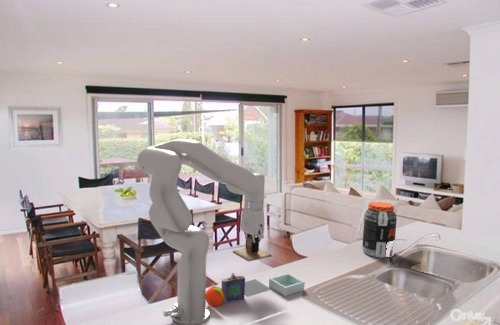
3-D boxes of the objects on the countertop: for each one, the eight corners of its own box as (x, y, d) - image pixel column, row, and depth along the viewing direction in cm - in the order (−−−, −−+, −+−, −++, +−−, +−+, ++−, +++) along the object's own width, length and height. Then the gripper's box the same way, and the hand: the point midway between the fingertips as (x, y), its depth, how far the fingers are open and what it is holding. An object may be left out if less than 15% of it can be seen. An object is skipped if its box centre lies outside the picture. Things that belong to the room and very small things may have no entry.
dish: (284, 298, 144) (285, 288, 144) (268, 287, 152) (269, 278, 152) (304, 291, 150) (304, 282, 149) (287, 282, 158) (288, 273, 158)
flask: (222, 305, 137) (223, 277, 136) (219, 301, 140) (220, 273, 139) (245, 300, 141) (246, 273, 140) (242, 297, 144) (243, 270, 143)
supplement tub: (390, 261, 185) (394, 209, 182) (358, 254, 193) (361, 205, 190) (396, 251, 198) (400, 203, 195) (366, 245, 206) (369, 199, 203)
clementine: (230, 306, 137) (230, 287, 136) (216, 313, 132) (217, 294, 131) (214, 298, 142) (215, 280, 141) (201, 305, 137) (201, 287, 136)
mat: (247, 298, 143) (247, 296, 143) (232, 287, 152) (232, 285, 152) (271, 290, 150) (271, 289, 150) (255, 280, 159) (255, 279, 159)
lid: (248, 261, 141) (249, 244, 141) (232, 252, 150) (233, 236, 150) (271, 256, 148) (272, 239, 147) (255, 248, 157) (255, 232, 156)
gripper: (234, 201, 151) (232, 245, 153) (258, 210, 138) (256, 258, 140) (249, 199, 156) (248, 242, 158) (274, 208, 142) (272, 255, 144)
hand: (252, 249), depth 149 cm, fingers closed on lid, 3 cm apart
